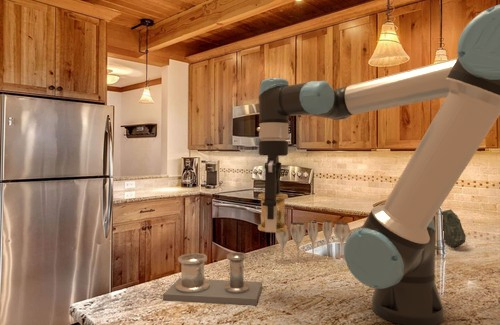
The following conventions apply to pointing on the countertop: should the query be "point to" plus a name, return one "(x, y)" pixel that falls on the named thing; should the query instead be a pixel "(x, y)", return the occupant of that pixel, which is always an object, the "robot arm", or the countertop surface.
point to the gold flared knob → (279, 216)
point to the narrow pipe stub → (236, 274)
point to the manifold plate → (217, 294)
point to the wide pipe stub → (192, 273)
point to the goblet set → (312, 237)
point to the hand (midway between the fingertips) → (272, 228)
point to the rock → (452, 229)
